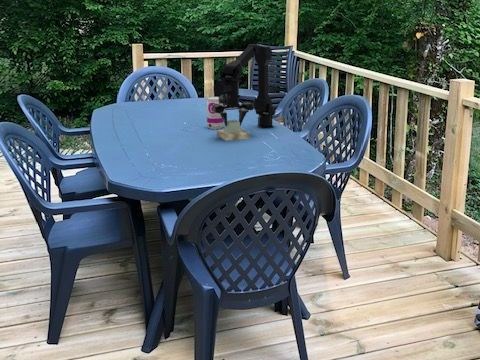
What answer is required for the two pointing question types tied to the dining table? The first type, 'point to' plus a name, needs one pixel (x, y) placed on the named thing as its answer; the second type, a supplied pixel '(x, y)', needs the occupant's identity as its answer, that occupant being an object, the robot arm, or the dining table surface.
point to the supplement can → (213, 114)
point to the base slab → (233, 135)
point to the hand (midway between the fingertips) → (232, 125)
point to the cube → (233, 126)
